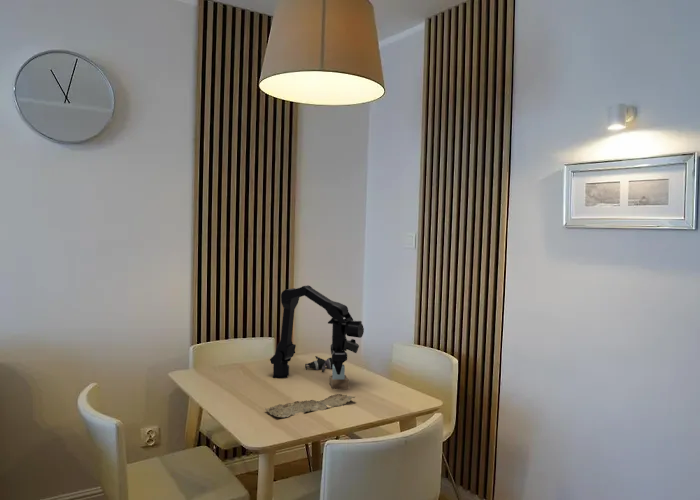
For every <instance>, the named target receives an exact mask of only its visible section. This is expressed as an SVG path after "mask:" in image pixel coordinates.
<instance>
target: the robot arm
mask: <svg viewBox="0 0 700 500" xmlns="http://www.w3.org/2000/svg"><path fill="white" fill-rule="evenodd" d="M301 297H305V298H307V299H309V300H311V301H312V302H314V303H315V304H317V305H318V306H319V307H321V308H323V309H324V310H325V311H326V312H327V314H328V315H329V317H331V319H330V320H328V322H327V324H330V325H332V327H331V328H332V331H331V333H332V334H331V344H330V353H331V358H332V361H333V364H334V367H335V369H336V372H337V375H340V372H341V368H342V365H344V363H345V362H347V360H348V353H347V351H350V352H351V353H354V354H357V353H358V350H359V347H360V345H359V344H358V343H356V339H354V338H361V339H362V337H363V335H364V333H365V332H364V331H365V327H364V325H363V323H362V321H361V320H354V318H353V317H352V315H351V313H350V311H349V308H348V306H347V305H345V304H343V303H341V302H337V301H334V300H331V299H330V298H328V297H327V296H325V295H324V294H322V293H321V292H319V291H318V290H316V289H315V288H314V287H312V286H311V285H302V286H301V287H297V288H288V289H284V290H283V291H282V292H281V294H280V302H281V305H282V308H283V313H282V321H281V322H282V323H281V330H280V331H281V332H280V333H281V334H280V340H279V342H278V343H277V345H276V350H275V352H274V355H273V356H272V357H270V360H269V361H270V363H271V365H272V366H273V367H272V368H273V370H272V371H273V372H272V373H273V375H272V378H273V379H275V378H276V379H283V378H285V379H286V378H287V379H288V377H289V375H290V365H289V362H291V360H292V358H293V357H294V355H295V354H296V347H297V346H296V344H294V343H293V341H292V339H293V328H294V319H295V309H296V308H297V305H298V304H299V300H300V298H301ZM346 336H347V337H352V338H351V339H350V340H348V339H347V337H346ZM353 337H354V338H353Z"/></svg>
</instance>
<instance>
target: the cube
mask: <svg viewBox="0 0 700 500" xmlns="http://www.w3.org/2000/svg"><path fill="white" fill-rule="evenodd" d="M345 368H346V367H345V364H343V365H342V368H341V372H340V375H337V372H336V369H335V367H334V364H333V365H332V370H331V371H332V372H331V374H332V375H331V376H332V379H344V377H345V375H346V374H345V372H346V369H345Z"/></svg>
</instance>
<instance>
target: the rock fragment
mask: <svg viewBox="0 0 700 500" xmlns="http://www.w3.org/2000/svg"><path fill="white" fill-rule="evenodd" d="M354 398H356V396H351V395H347V394H343V393H336V394H333V395H332V394H331V395H329V396H328V397H326V398H324V399H322V400H320V401H319V400H318V401H317V400H314V399H310V400H306V399H305V400H301V401H299V400H297V401H294V402H292V403H291V402H287V403H284V404H280V403H279V404H277V405H274V406H270V407H268V408H267V407H264V410H265V412H267V413H269V415H271V416H274V417H276V418H289V417H291V416H297V415H298V414H300V413H302V414H305V413H306V412H312V411H313V412H317V411H324V410H326V409H330V408H335V407H336V406H337V407H338V406H340V407H341V406H345V405H346V404H347V403H350V402H351V400H352V399H354Z"/></svg>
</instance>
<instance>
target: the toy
mask: <svg viewBox="0 0 700 500" xmlns="http://www.w3.org/2000/svg"><path fill="white" fill-rule="evenodd" d="M315 359H316V360H313V361H312V362H308V363H305V364H304V368H305V370H306V371H307V370H308V368H310V369H311V370H312V369H313V370H315V371H319V370H322V371H321V373H322V372H324V371H325V370H326V369H329V370H331V369H332V365H333V361H332V357H328V358H327V359H324V358H321V357H319V356H318V355H317V356H316V355H315Z"/></svg>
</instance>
